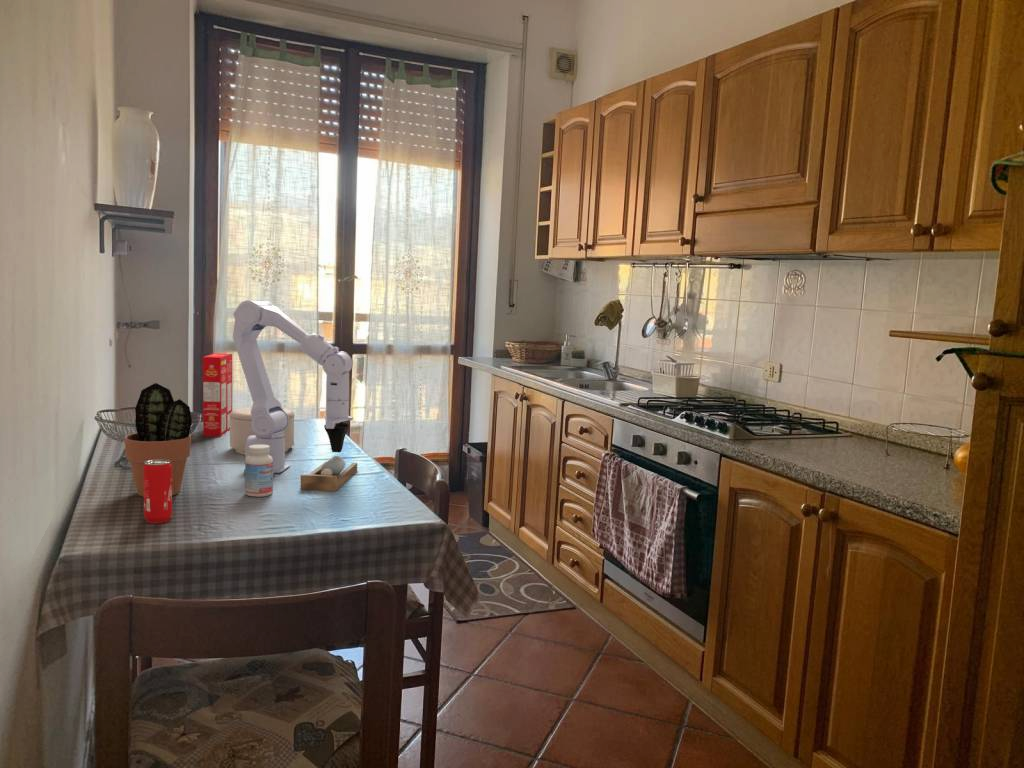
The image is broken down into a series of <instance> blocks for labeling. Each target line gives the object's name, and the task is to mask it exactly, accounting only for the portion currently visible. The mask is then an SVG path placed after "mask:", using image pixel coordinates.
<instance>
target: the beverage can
mask: <svg viewBox="0 0 1024 768" xmlns="http://www.w3.org/2000/svg"><path fill="white" fill-rule="evenodd" d="M143 485H144V497H143V517H144V519H145V520H146V523H148V524H163V522H164V523H168V522H170V521H171V518H172V516H173V495H172V465H171V463H170V460H165V459H156V460H149V461H146V462H145V465H144V466H143Z"/></svg>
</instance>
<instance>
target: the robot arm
mask: <svg viewBox="0 0 1024 768" xmlns="http://www.w3.org/2000/svg"><path fill="white" fill-rule="evenodd" d="M232 315H233V318H234V325H233V332H232V340H233V344H234V346H235V350H236V352H237V355H238V358H239V362H240V365H241V369H242V371H243V374H244V378H245V380H246V381H245V382H246V383H247V387H248V390H249V393H250V396H251V400H252V402H253V404H252V406H251V407H252V408H251V415H252V422H251V426H252V430H253V432H254V433H255V434H256V435H251V436H249V437H248V438H247V441H246V447H245V454H244V455H245V456H244V457H245V458H244V459H245V460H246V458H247V457H248V456H249V455H250V453H249V446H251V445H269V446H270V451H269V455H270V456H271V457H272V458H273V474H280V473H282V472H284V471H286V469H288V468H290V467H291V465H290V464H285V462H286V461H285V460H286V459H285V458H286V452H285V429H286V428H287V427H288V424H289V417H288V414H287V413H286V412H285V411H284V410H283V408H284V407H283V406H282V403H281V401H279V400H278V398H276V396H275V394H274V392H273V388H272V385H271V381H270V378H269V375H268V373H267V370H266V366H265V363H264V359H263V357H262V354H261V349H260V347H259V345H258V337H259V335H260V334H261V333H262V331H263V330H264V329H265V328H266V327H275V328H276V329H278V330H279V331H281V333H282V332H283V333H284V334H285V335H287V336H288V337H290V338H291V339H292V340H294V341H295V342H297V343H299V345H300V348H301V351H302V352H303V353H304V354H306V356H308V357H309V358H311V359H312V360H314V361H315V362H316V363H317V364H318V365H320V366H322V369H323V371H324V373H325V374H326V382H325V383H326V384H325V385H326V387H325V394H326V395H325V416H324V419H325V424H324V430H325V432H326V434H327V436H328V439H329V443H330V448H331V452H332V453H341V452H342V450H343V448H344V447H343V446H344V444H345V443H344V442H345V438H346V435H347V433H348V430H349V428H350V425H351V423H347V422H348V421H353V420H354V416H351V415H350V414H349V409H350V372H351V370H352V368H353V363H354V362H353V359H352V357H351V355H349V354H348V352H346V351H341V350H340V348H339V347H338V346H334V345H332V344H331V343H330V342H328V341H327V340H326V339H325V338H326V337H325V335H323V334H321V333H320V334H317V333H315V332H314V333H308V332H307V330H305V329H303V327H301V326H300V325H299V324H298V323H296V321H294V320H293V319H292V318H290V317H289V316H288V315H287V314H285V312H283V311H282V310H281V309H280V308H279V307H278V306H276V305H273V304H272V303H271V302H270V301H268V300H259V301H258V300H244V301H241V302H240V303H239V305H237V307H236V309H235V310H234V312H233V314H232ZM339 350H340V351H339ZM245 460H244V461H245ZM244 472H245V469H244Z"/></svg>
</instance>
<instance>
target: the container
mask: <svg viewBox="0 0 1024 768" xmlns="http://www.w3.org/2000/svg"><path fill="white" fill-rule="evenodd" d="M251 408H252V406H246V407H239V408H236V409H235V408H234V409H232V412H231V413H230V430H229V446H230V448H232V449H235V452H236V453H238V454H242V455H245V447H246V441H247V438H248V437H249V436H251V435H256V434H255V433H254V432H253V430H252V426H251V422H252V415H251ZM282 408H283V410H284V411H285V412H286V413H287V414H288V417H289V424H288V427H287V428H286V429H285V453H286V452H288V451H289V449H290V448H291V447H294V445H295V412H294V411H293V410H292V409H290V408H287V407H282Z"/></svg>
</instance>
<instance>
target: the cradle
mask: <svg viewBox="0 0 1024 768" xmlns="http://www.w3.org/2000/svg"><path fill="white" fill-rule="evenodd" d="M327 461H328V460H327ZM327 461H325V462H323V463H322V464H320V465H319V466H318V467H316V468H315V469H314V470H313V471H311V472H310V473H301V474H300V485H299V486H300V489H299V490H301V491H305V490H306V491H322V492H337V490H339V489H340V488H341V487H342V486H343V485H344V484H345V483H346V482H347V481H348V480H349V479H350V478H351V477H353V476H354V475H355V474H356V473H357V472H358V462H352V463H351V464H350V465H348V466H347V467H345V468H344V470H343V471H342V472H341V473H340V474H339V475H338V476H334V475H321V468H322V466H323V465H324V464H325V463H326V462H327Z"/></svg>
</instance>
